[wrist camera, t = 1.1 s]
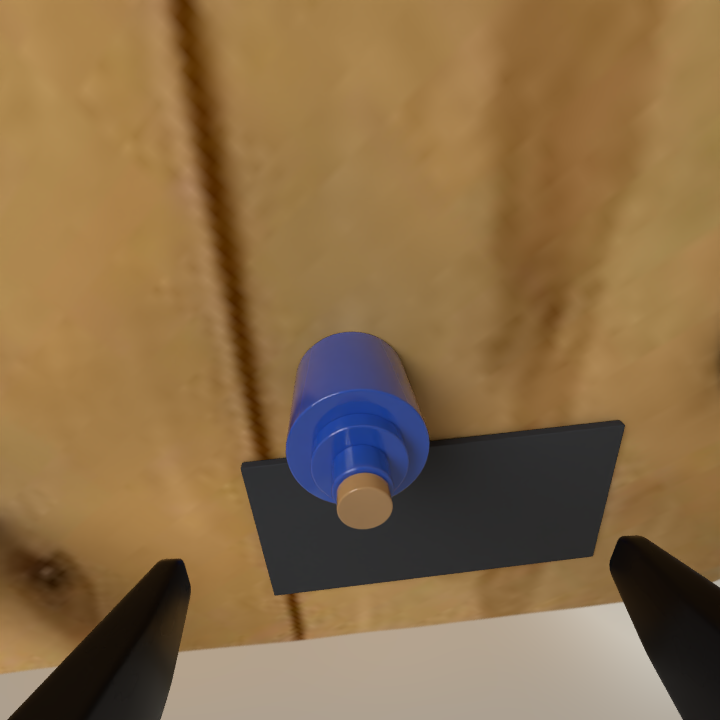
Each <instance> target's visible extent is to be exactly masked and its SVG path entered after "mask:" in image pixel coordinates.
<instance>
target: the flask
mask: <svg viewBox="0 0 720 720" xmlns="http://www.w3.org/2000/svg"><path fill="white" fill-rule="evenodd" d="M429 445H430V441H429V434H428V430H427V427H426V424H425V421H424V419H423V416H422V414H421V411H420V408H419V406H418V403H417V401H416V398H415V395H414V393H413V390H412V388H411V385H410V382H409V380H408V377H407V375H406V372H405V370H404V367H403V364H402V362H401V360H400V358H399V356H398V355H397V353H396V352H395V351H394V349H393V348H392V347H391V346H389V345H388V344H387V343H386V342H384V341H383V340H381V339H379V338H377V337H375V336H373V335H370V334H366V333H361V332H343V333H338V334H334V335H331V336H329V337H326V338H324V339H322V340H321V341H319V342H317V343H316V344H315V345H313V346H312V347H311V348H310V349H309V350H308V351H307V352H306V354H305V355H304V356H303V358H302V360H301V362H300V364H299V366H298V369H297V374H296V379H295V386H294V393H293V400H292V407H291V414H290V420H289V427H288V434H287V441H286V458H287V462H288V466H289V468H290V470H291V473H292V474H293V476H294V477H295V479H296V480H297V482H298V483H299V484H300V485H301V486H302V487H303V488H304V489H306V490H307V491H308V492H309V493H311V494H312V495H314V496H316V497H318V498H320V499H322V500H325V501H328V502H331V503H335V504H336V505H337V514H338V517H339V518H340V520H341V521H342V522H343V523H344V524H346V525H347V526H349V527H352V528H355V529H371V528H374V527H377V526H379V525H381V524H382V523H384V522H385V521H386V520H387V519H388V518H389V517H390V515H391V513H392V510H393V502H392V497H393V496H395V495H397V494H398V493H400V492H401V491H403V490H404V489H406V488H407V487H408V486H409V485H410V484H411V483H412V482H413V481H414V480H415V479H416V478H417V477H418V475H419V474H420V473H421V471H422V469H423V467H424V466H425V463H426V461H427V458H428V453H429Z"/></svg>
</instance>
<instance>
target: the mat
mask: <svg viewBox="0 0 720 720" xmlns="http://www.w3.org/2000/svg"><path fill="white" fill-rule="evenodd" d="M624 427H625V425H624V424H623V423H622V422H621V421H620V420H616V421H607V422H598V423H589V424H580V425H572V426H563V427H554V428H545V429H536V430H527V431H518V432H510V433H501V434H492V435H483V436H474V437H465V438H456V439H448V440H439V441H430V445H429V453H428V458H427V461H426V463H425V466H424V467H423V469H422V471H421V473H420V474H419V475H418V477H417V478H416V479H415V480H414V481H413V482H412V483H411V484H410V485H409V486H408V487H407V488H406V489H404V490H403V491H401V492H400V493H398V494H397V495H395V496H393V497H392V502H393V510H392V513H391V515H390V517H389V518H388V519H387V520H386V521H385V522H384V523H382V524H381V525H379V526H377V527H374V528H371V529H355V528H352V527H349V526H347V525H346V524H344V523H343V522H342V521H341V520H340V518H339V517H338V514H337V505H336V504H335V503H331V502H328V501H325V500H322V499H320V498H318V497H316V496H314V495H312V494H311V493H309V492H308V491H307V490H306V489H304V488H303V487H302V486H301V485H300V484H299V483H298V482H297V480H296V479H295V477H294V476H293V474H292V473H291V470H290V468H289V466H288V462H287V458H279V459H270V460H261V461H253V462H244V463H242V466H241V472H242V475H243V479H244V483H245V487H246V490H247V494H248V498H249V502H250V505H251V509H252V513H253V516H254V520H255V524H256V528H257V531H258V535H259V539H260V543H261V546H262V550H263V554H264V558H265V561H266V565H267V569H268V573H269V576H270V580H271V584H272V587H273V591H274V595H275V596H276V595H284V594H292V593H300V592H308V591H316V590H324V589H332V588H340V587H348V586H357V585H365V584H373V583H381V582H389V581H397V580H405V579H413V578H421V577H429V576H437V575H445V574H454V573H462V572H470V571H478V570H486V569H494V568H502V567H510V566H518V565H526V564H534V563H542V562H551V561H559V560H567V559H575V558H583V557H591V556H593V553H594V549H595V545H596V541H597V537H598V533H599V529H600V525H601V521H602V517H603V513H604V509H605V504H606V500H607V496H608V492H609V488H610V484H611V480H612V476H613V472H614V468H615V464H616V460H617V456H618V452H619V448H620V444H621V440H622V436H623V432H624Z"/></svg>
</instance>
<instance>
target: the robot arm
mask: <svg viewBox="0 0 720 720" xmlns="http://www.w3.org/2000/svg"><path fill="white" fill-rule="evenodd" d="M609 566H610V572H611V575H612V577H613V580H614V582H615V584H616V586H617V589H618V591H619V593H620V595H621V598H622V600H623V602H624V604H625V606H626V609H627V611H628V613H629V615H630V618H631V620H632V622H633V624H634V627H635V629H636V631H637V633H638V636H639V638H640V640H641V642H642V644H643V646H644V649H645V651H646V653H647V655H648V657H649V658H650V660H651V662H652V664H653V666H654V668H655V669H656V672H657V673H658V675H659V677H660V679H661V680H662V683H663V684H664V686H665V687H666V690H667V692H668V693H669V695H670V697H671V699H672V701H673V702H674V704H675V706H676V708H677V710H678V712H679V713H680V715H681V717H682V719H683V720H720V587H718V586H717V585H715V584H714V583H712V582H711V581H709V580H708V579H706V578H705V577H703V576H702V575H700V574H699V573H697V572H696V571H694V570H693V569H691V568H690V567H688V566H687V565H685V564H684V563H682V562H681V561H679V560H678V559H676V558H675V557H673V556H672V555H670V554H669V553H667V552H666V551H664V550H663V549H661V548H660V547H658V546H657V545H655V544H654V543H652V542H651V541H649V540H648V539H646V538H644V537H642V536H637V535H636V536H622V537H620V538H619V539H618V541H617V544H616V546H615V549H614V552H613V554H612V557H611V559H610V564H609ZM190 593H191V586H190V582H189V578H188V575H187V571H186V568H185V564H184V562H183V560H181V559H164V560H161V561H159V562H158V563H157V564H156V565H155V566H154V567H153V568H152V569H151V570H150V571H149V572H148V573H147V574H146V575H145V576H144V577H143V578H142V579H141V580H140V581H139V582H138V583H137V584H136V586H135V587H134V588H133V589H132V590H131V591H130V592H129V593H128V594H127V595H126V596H125V597H124V598H123V599H122V600H121V601H120V602H119V603H118V604H117V605H116V606H115V608H114V609H113V610H112V611H111V612H110V613H109V614H108V615H107V616H106V617H105V618H104V619H103V620H102V621H101V622H100V623H99V624H98V625H97V626H96V627H95V628H94V630H93V631H92V632H91V633H90V634H89V635H88V636H87V637H86V638H85V639H84V640H83V641H82V642H81V643H80V644H79V645H78V646H77V647H76V648H75V649H74V650H73V652H72V653H71V654H70V655H69V656H68V657H67V658H66V659H65V660H64V661H63V662H62V663H61V664H60V665H59V666H58V667H57V668H56V669H55V670H54V672H52V674H51V675H50V676H49V677H48V678H47V679H46V680H45V681H44V682H43V683H42V684H41V685H40V686H39V687H38V688H37V689H36V690H35V692H33V693H32V695H31V696H30V697H29V698H28V699H27V700H26V701H25V702H24V703H23V704H22V705H21V706H20V707H19V708H18V709H17V710H16V711H15V712H14V713H13V714H12V716H10V718H9V719H8V720H160V719H161V716H162V712H163V709H164V706H165V703H166V700H167V696H168V693H169V690H170V686H171V682H172V678H173V674H174V669H175V665H176V660H177V655H178V651H179V646H180V642H181V637H182V632H183V628H184V623H185V618H186V614H187V609H188V604H189V600H190Z"/></svg>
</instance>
